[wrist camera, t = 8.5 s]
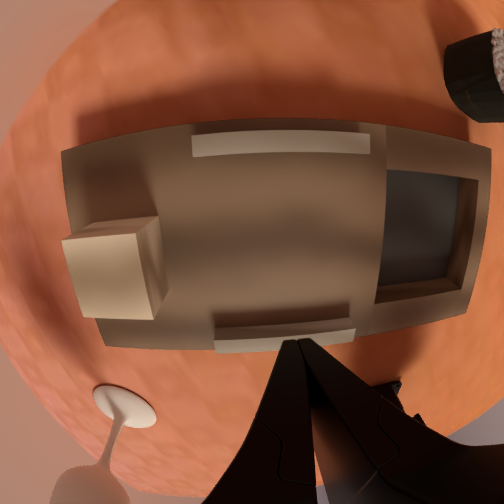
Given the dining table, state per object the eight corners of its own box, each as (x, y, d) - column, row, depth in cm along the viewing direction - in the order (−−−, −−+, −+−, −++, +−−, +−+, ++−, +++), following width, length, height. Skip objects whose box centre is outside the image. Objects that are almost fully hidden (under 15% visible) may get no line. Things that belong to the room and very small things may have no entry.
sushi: (491, 71, 14) (541, 65, 7) (489, 134, 17) (546, 140, 10) (441, 30, 13) (492, 9, 6) (439, 97, 16) (503, 88, 9)
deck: (450, 299, 23) (474, 320, 19) (117, 326, 23) (99, 356, 18) (470, 146, 18) (502, 150, 13) (82, 150, 17) (48, 152, 13)
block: (169, 287, 18) (153, 319, 14) (108, 288, 18) (83, 317, 14) (158, 215, 16) (135, 233, 12) (93, 222, 16) (61, 240, 12)
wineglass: (121, 427, 29) (86, 546, 9) (81, 387, 26) (23, 516, 6) (169, 424, 28) (145, 568, 8) (129, 380, 25) (74, 546, 5)
